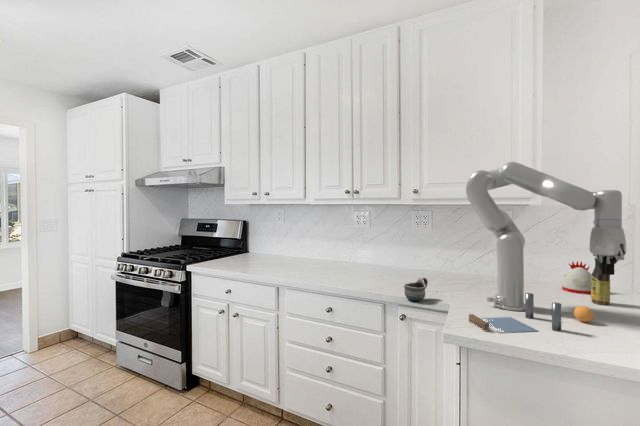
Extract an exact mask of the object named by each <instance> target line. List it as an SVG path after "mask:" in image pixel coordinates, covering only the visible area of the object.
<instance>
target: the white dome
mask: <svg viewBox="0 0 640 426" xmlns="http://www.w3.org/2000/svg"><path fill="white" fill-rule="evenodd" d="M568 265H569V267H570V269H569V271H567V273H565V274H564V278H563V281H562V283H561V289H562V291H564V292H568V293H573V294H579V295H591V274H592V273H590V271H589V269H590V265H589V266H588V267H586V266H587V264H586V263H584V264H583V262H582V260H581V261H580V263H579V261H578V260H577V261H576V263H574V261H573V260H572V263H569V262H568Z"/></svg>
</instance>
